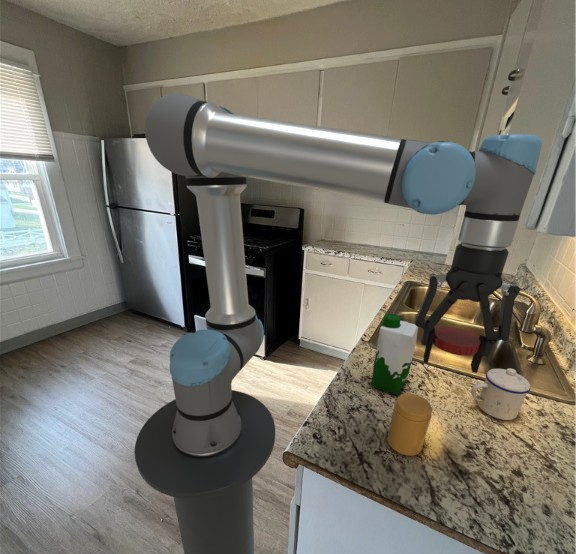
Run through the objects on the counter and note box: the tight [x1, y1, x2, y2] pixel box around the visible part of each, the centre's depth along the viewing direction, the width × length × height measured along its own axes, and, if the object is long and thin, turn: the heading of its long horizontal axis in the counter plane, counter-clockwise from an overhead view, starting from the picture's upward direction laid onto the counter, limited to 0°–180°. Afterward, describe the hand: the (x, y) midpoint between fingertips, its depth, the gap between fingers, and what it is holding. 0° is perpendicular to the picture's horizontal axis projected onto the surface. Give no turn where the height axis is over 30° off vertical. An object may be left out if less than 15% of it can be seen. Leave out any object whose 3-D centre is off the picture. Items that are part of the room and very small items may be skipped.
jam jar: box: [386, 393, 433, 457], centre depth 66 cm, size 7×7×11 cm
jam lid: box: [432, 326, 481, 357], centre depth 58 cm, size 8×8×2 cm
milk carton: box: [371, 313, 419, 396], centre depth 82 cm, size 9×9×20 cm
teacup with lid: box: [470, 367, 531, 421], centre depth 76 cm, size 12×9×12 cm
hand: (449, 363), depth 60 cm, fingers closed on jam lid, 8 cm apart
